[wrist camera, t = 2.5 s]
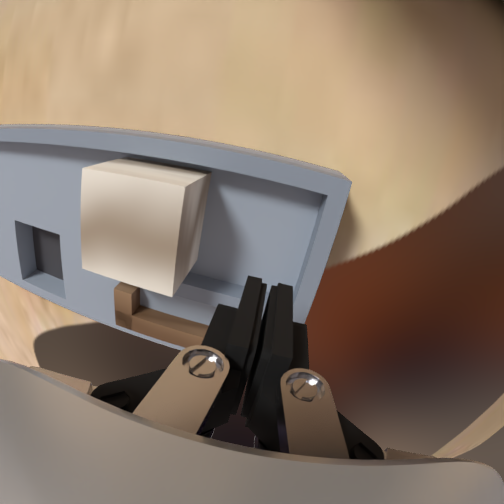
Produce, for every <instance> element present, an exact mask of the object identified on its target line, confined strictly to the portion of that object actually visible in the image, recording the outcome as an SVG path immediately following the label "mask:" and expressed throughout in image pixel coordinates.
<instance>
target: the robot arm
mask: <svg viewBox="0 0 504 504" xmlns="http://www.w3.org/2000/svg"><path fill="white" fill-rule="evenodd" d="M266 289H267V284H266V283H262V278H258V277H254V276H250V275H248V277H247V280H246V284H245V287H244V290H243V294H242V297H241V300H240V303H239V307H238V308H235V307H231V306H227V305H223V304H218V305H217V308H216V310H215V312H214V315H213V317H212V320H211V322H210V324H209V327H208V329H207V332H206V334H205V336H204V339H203V341H202V343H201V345H195V346H190V347H187V348H185V349H183V350H182V351H181V352H180V353H179V354H178V355H177V357H176V358H175V359H174V360H173V361H172V363H171V364H170V365H169V367H168V368H166V369H162V370H158V371H155V372H151V373H147V374H143V375H139V376H135V377H130V378H126V379H122V380H118V381H113V382H109V383H105V384H103V385H100V386H98V387H95V386H92V384H91V382H89V381H85V380H81V379H77V378H73V377H70V376H66V375H63V374H59V373H56V372H52V371H49V370H46V369H43V368H40V367H33V366H32V367H27V366H24V365H21V364H18V363H15V362H13V361H8V360H3V359H0V504H504V483H503V481H502V479H501V477H500V475H499V474H498V472H496V470H494V468H492V467H490V466H488V465H486V464H484V463H480V462H477V461H473V460H467V459H459V458H437V457H434V456H428V455H422V454H416V453H410V452H405V451H400V450H395V449H390V448H387V449H386V450H385V451H383V450H382V449H381V448H380V447H379V446H378V445H377V443H375V442H374V441H373V440H372V439H371V438H369V437H368V436H367V435H366V434H364V433H363V432H362V431H361V430H360V429H358V428H357V427H356V426H355V425H354V424H352V423H351V422H350V421H349V420H347V419H346V418H345V417H344V416H343V415H341V414H340V413H339V412H338V411H337V410H336V407H335V404H334V400H333V397H332V393H331V390H330V387H329V385H328V383H327V381H326V380H325V379H324V378H323V377H322V376H321V375H319V374H318V373H316V372H314V371H311V370H309V358H308V338H307V325H306V324H302V323H298V322H293V286H290V285H286V284H282V283H278V284H277V286H274V285H272V286H271V289H270V292H269V296H268V299H267V303H266V306H265V310H264V313H263V307H264V301H265V295H266ZM262 313H263V317H262ZM261 319H262V320H261ZM247 379H248V380H247ZM246 382H247V386H246V391H245V396H244V401H243V407H242V411H241V416H242V417H247V418H246V423H245V426H246V427H249V428H250V430H251V431H252V432H253V433H254V434H255V435H256V436H255V440H254V448H250V447H245V446H241V445H236V444H231V443H227V442H223V441H218V440H214V439H211V436H212V434H213V432H214V428H216V427H218V426H220V425H223V424H225V423H227V422H228V420H229V416H230V414H233V415H236V413H237V410H238V407H239V403H240V400H241V397H242V394H243V391H244V388H245V385H246Z"/></svg>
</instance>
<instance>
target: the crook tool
mask: <svg viewBox="0 0 504 504" xmlns="http://www.w3.org/2000/svg"><path fill="white" fill-rule="evenodd" d="M114 306H115V322H116V325H118V326H121V327H123V328H126V329H129V330H132V331H135V332H138V333H140V334H143V335H146V336H149V337H152V338H155V339H158V340H162V341H165V342H168V343H171V344H174V345H178V346H181V347H184V348H187V347H190V346H195V345H201V343H202V341H203V339H204V336H205V334H206V332H207V329H208V327H209V325H205V324H202V323H198V322H195V321H191V320H187V319H184V318H181V317H177V316H174V315H170V314H167V313H164V312H160V311H157V310H154V309H151V308H148V307H145V306H141V305H140V287H137V286H133V285H130V284H127V283H124V282H120V283H119V284H118V285H117V286H116V287H115V288H114Z"/></svg>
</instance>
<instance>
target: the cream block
mask: <svg viewBox="0 0 504 504" xmlns="http://www.w3.org/2000/svg"><path fill="white" fill-rule="evenodd" d="M211 174H212V172H209V171H204V170H199V169H194V168H189V167H184V166H178V165H173V164H167V163H161V162H155V161H149V160H143V159H137V158H130V157H124V158H120V159H116V160H111V161H107V162H103V163H99V164H96V165H92V166H88V167H84V168H82V180H81V255H82V269H85V270H88V271H91V272H94V273H97V274H100V275H103V276H106V277H109V278H112V279H115V280H118V281H121V282H124V283H127V284H130V285H133V286H137V287H140V288H143V289H146V290H150V291H153V292H156V293H160V294H163V295H167V296H170V297H173V295H174V294H175V292H176V291H177V289H178V288H179V286H180V285H181V283H182V282H183V280H184V279H185V277H186V276H187V274H188V273H189V271H190V270H191V268H192V267H193V265H194V264H195V262H196V261H197V259H198V252H199V245H200V239H201V232H202V226H203V220H204V214H205V208H206V202H207V196H208V190H209V185H210V179H211Z"/></svg>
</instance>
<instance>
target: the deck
mask: <svg viewBox="0 0 504 504" xmlns="http://www.w3.org/2000/svg"><path fill="white" fill-rule="evenodd" d="M124 157H130V158H137V159H143V160H149V161H155V162H161V163H167V164H173V165H178V166H184V167H189V168H194V169H199V170H204V171H209V172H212V174H211V179H210V185H209V190H208V196H207V202H206V208H205V214H204V220H203V226H202V232H201V239H200V245H199V252H198V259H197V261H196V262H195V264H194V265H193V267H192V268H191V270H190V271H189V273H188V274H187V276H186V277H185V279H184V280H183V282H182V283H181V285H180V286H179V288H178V289H177V291H176V292H175V294H174V295H173V297H170V296H167V295H163V294H160V293H156V292H153V291H150V290H146V289H143V288H140V305H141V306H145V307H148V308H151V309H154V310H157V311H160V312H164V313H167V314H170V315H174V316H177V317H181V318H184V319H187V320H191V321H195V322H198V323H202V324H205V325H209V324H210V322H211V320H212V317H213V315H214V312H215V310H216V308H217V305H218V304H223V305H227V306H231V307H235V308H238V307H239V303H240V300H241V297H242V294H243V290H244V287H245V284H246V280H247V277H248V275H250V276H254V277H258V278H262V283H266V284H267V289H266V295H265V301H264V307H263V313H264V310H265V306H266V303H267V299H268V296H269V292H270V289H271V286H272V285H274V286H277V284H278V283H282V284H286V285H290V286H293V322H298V323H302V324H304V323H305V321H306V318H307V315H308V313H309V310H310V308H311V305H312V302H313V299H314V297H315V294H316V291H317V289H318V286H319V283H320V280H321V277H322V275H323V272H324V269H325V266H326V263H327V260H328V257H329V254H330V251H331V248H332V245H333V242H334V239H335V236H336V233H337V230H338V227H339V224H340V221H341V217H342V214H343V211H344V208H345V204H346V201H347V198H348V194H349V191H350V187H351V184H352V181H350V180H349V179H348V178H347V177H345V176H344V175H343V174H342V173H340V172H339V171H336V170H332V169H329V168H325V167H322V166H318V165H314V164H311V163H307V162H303V161H299V160H295V159H291V158H287V157H283V156H279V155H275V154H271V153H266V152H262V151H257V150H253V149H248V148H243V147H238V146H234V145H228V144H223V143H218V142H212V141H207V140H201V139H195V138H189V137H183V136H176V135H169V134H162V133H154V132H146V131H138V130H129V129H119V128H108V127H95V126H79V125H55V124H5V125H0V276H1V277H3V278H5V279H7V280H8V281H10V282H12V283H14V284H16V285H18V286H20V287H22V288H24V289H26V290H28V291H30V292H32V293H34V294H36V295H38V296H40V297H42V298H45V299H47V300H49V301H51V302H53V303H55V304H58V305H60V306H62V307H64V308H67V309H69V310H71V311H74V312H76V313H78V314H81V315H83V316H85V317H88V318H90V319H93V320H95V321H98V322H100V323H103V324H105V325H108V326H111V327H113V328H116V329H119V330H122V331H124V332H127V333H130V334H133V335H136V336H138V337H141V338H144V339H147V340H150V341H153V342H156V343H159V344H162V345H166V346H169V347H172V348H175V349H178V350H183V349H185V348H184V347H181V346H178V345H174V344H171V343H168V342H165V341H162V340H158V339H155V338H152V337H149V336H146V335H143V334H140V333H138V332H135V331H132V330H129V329H126V328H123V327H121V326H118V325H116V322H115V306H114V288H115V287H116V286H117V285H118V284H119V283H120V282H121V281H118V280H115V279H112V278H109V277H106V276H103V275H100V274H97V273H94V272H91V271H88V270H85V269H82V255H81V180H82V168H84V167H88V166H92V165H96V164H99V163H103V162H107V161H111V160H116V159H120V158H124ZM263 313H262V317H263ZM261 320H262V319H261Z"/></svg>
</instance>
